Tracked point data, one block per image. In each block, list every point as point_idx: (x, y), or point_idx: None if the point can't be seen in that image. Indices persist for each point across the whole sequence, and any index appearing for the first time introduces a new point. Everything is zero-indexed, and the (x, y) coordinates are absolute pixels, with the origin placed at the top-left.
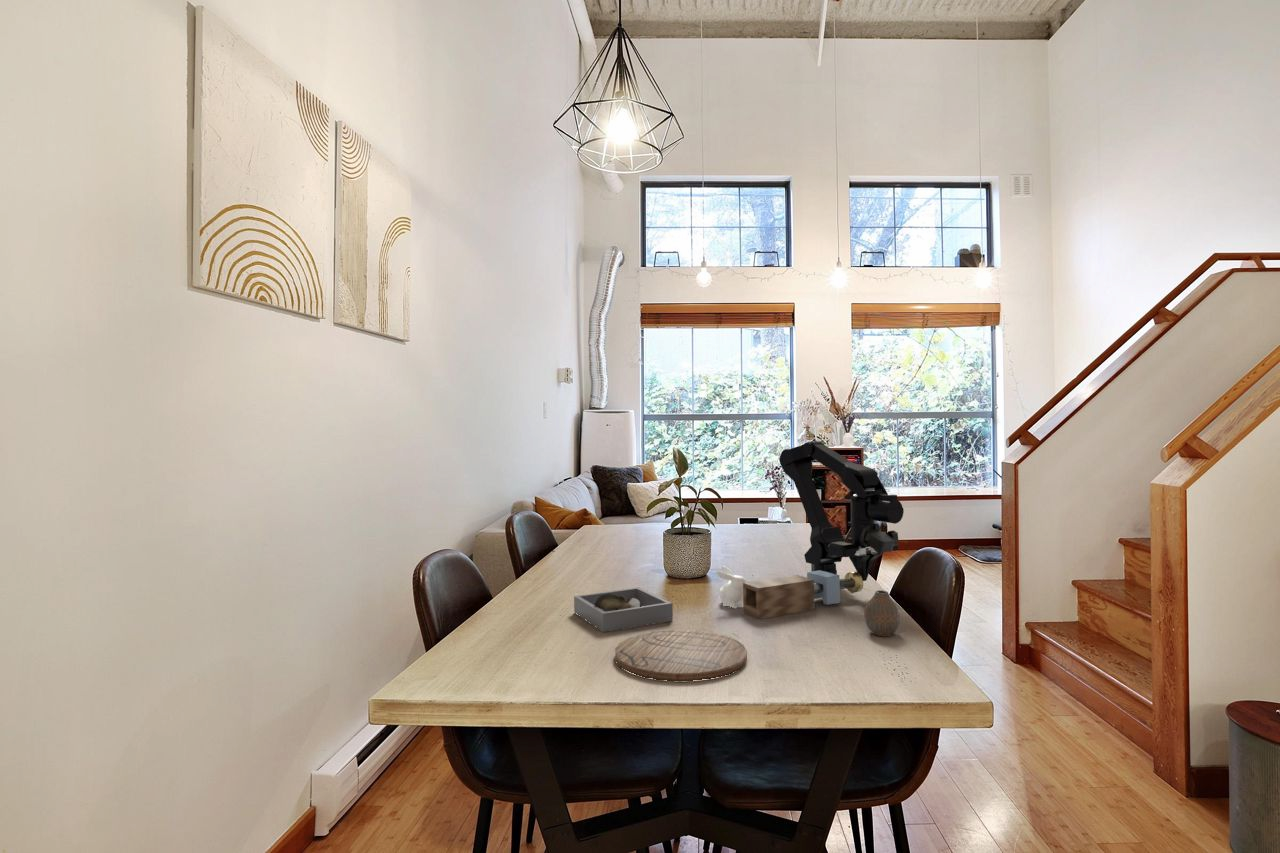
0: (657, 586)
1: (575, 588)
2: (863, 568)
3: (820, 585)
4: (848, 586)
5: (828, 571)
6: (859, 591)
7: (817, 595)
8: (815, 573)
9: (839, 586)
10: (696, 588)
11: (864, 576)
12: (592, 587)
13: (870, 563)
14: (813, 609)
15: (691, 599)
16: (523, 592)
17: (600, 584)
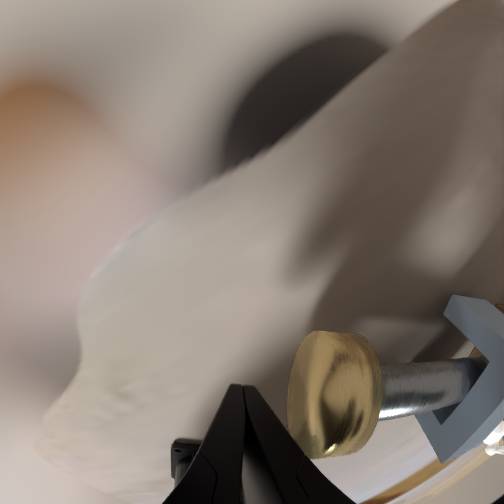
0: (419, 486)
1: (451, 479)
2: (301, 458)
3: None
4: (393, 364)
5: (241, 499)
6: (311, 335)
7: None
8: (498, 422)
9: (495, 331)
10: (411, 480)
11: (261, 406)
12: (444, 482)
13: (212, 491)
14: (498, 304)
15: None
16: (472, 468)
17: (430, 490)
